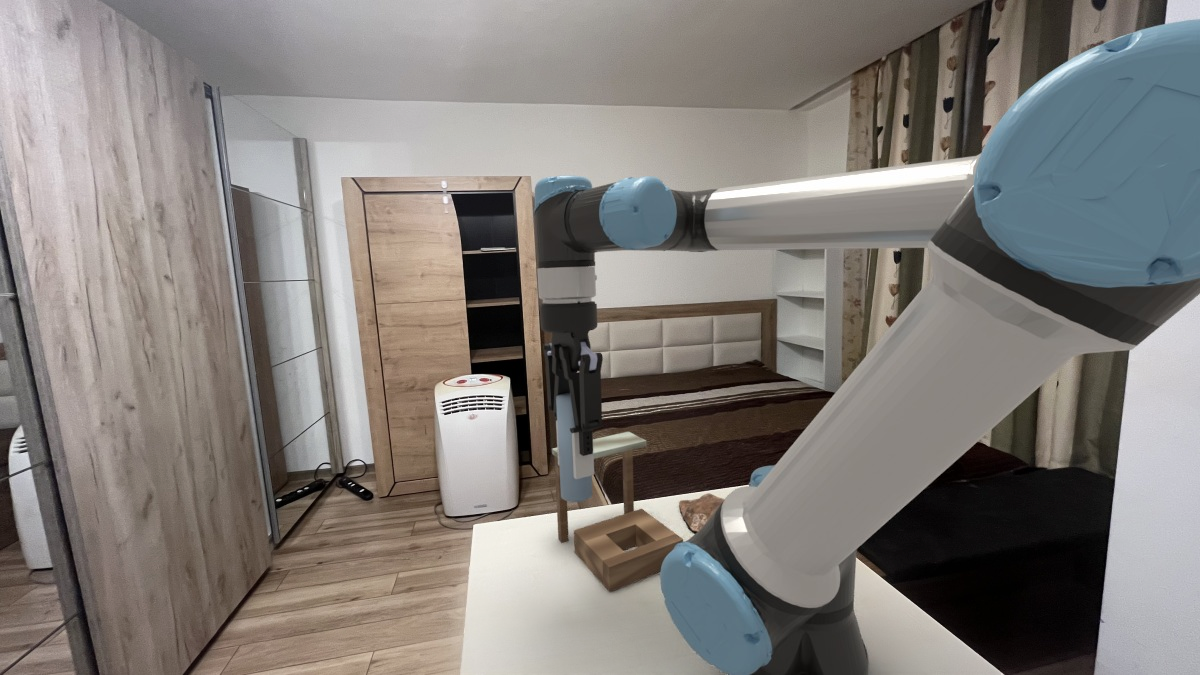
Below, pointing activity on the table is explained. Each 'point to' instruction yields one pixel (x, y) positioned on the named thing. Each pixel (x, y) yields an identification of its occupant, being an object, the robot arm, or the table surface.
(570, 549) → the table surface
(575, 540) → the socket station
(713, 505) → the shell
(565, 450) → the peg
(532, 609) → the table surface
